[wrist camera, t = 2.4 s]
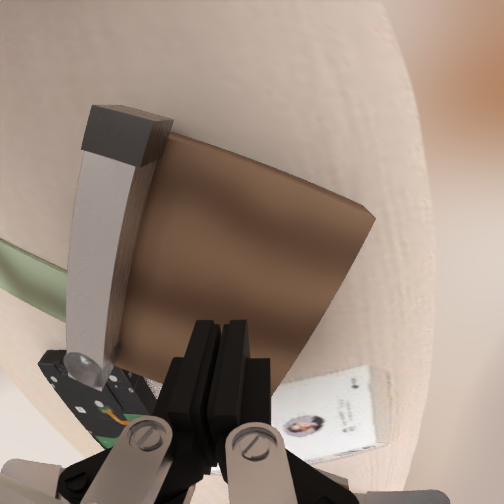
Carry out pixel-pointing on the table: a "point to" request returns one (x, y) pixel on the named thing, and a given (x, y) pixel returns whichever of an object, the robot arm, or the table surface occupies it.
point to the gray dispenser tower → (336, 479)
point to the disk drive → (100, 398)
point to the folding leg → (107, 233)
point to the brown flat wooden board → (218, 259)
